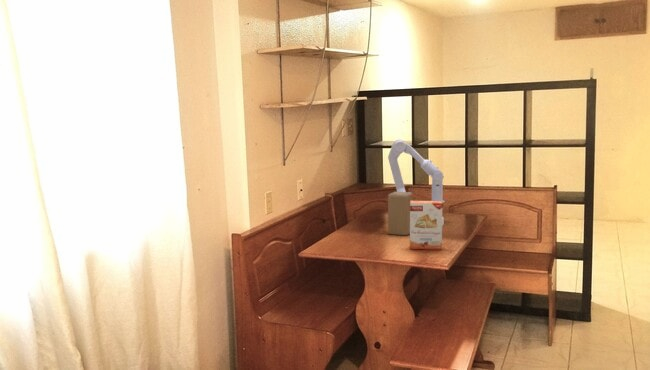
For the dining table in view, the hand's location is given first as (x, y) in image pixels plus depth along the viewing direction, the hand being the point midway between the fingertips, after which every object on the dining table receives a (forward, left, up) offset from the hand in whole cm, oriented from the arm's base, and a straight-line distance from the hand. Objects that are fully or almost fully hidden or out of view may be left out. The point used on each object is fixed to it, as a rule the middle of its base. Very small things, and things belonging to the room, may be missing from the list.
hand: (437, 217), depth 315 cm
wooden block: (-12, -31, -3) cm, 33 cm away
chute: (0, -16, -2) cm, 16 cm away
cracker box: (+6, -57, -3) cm, 57 cm away
